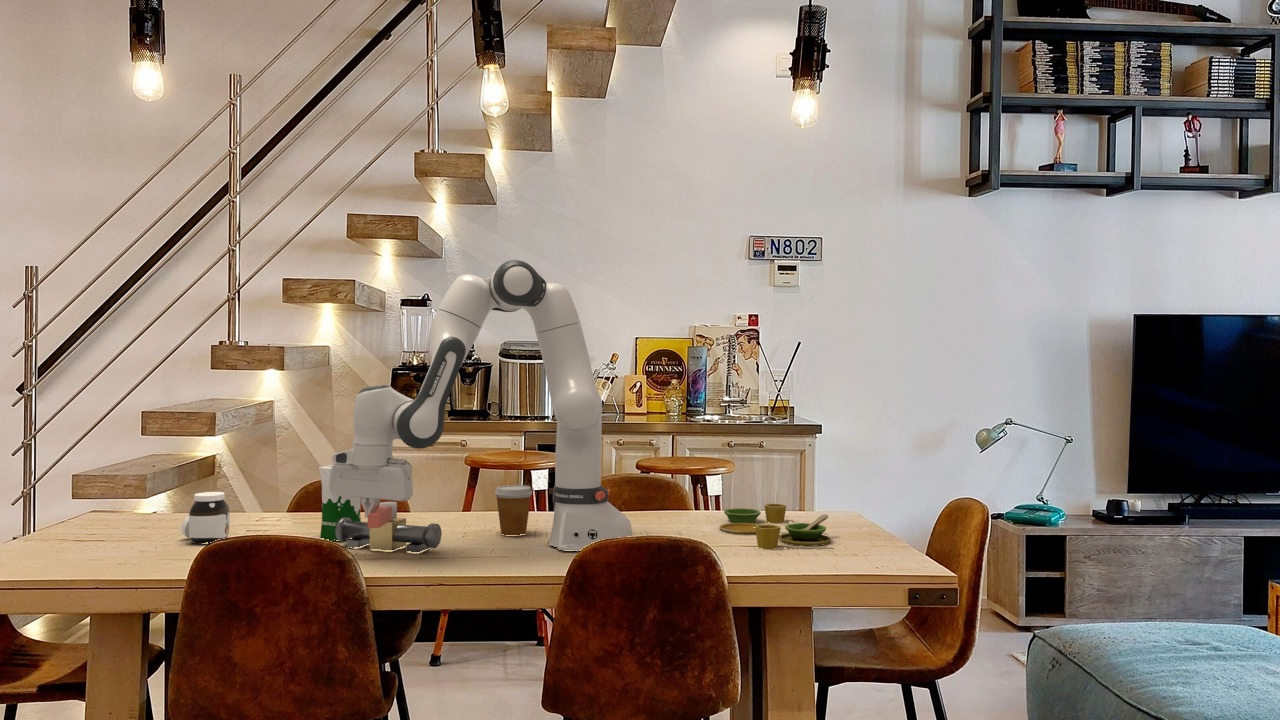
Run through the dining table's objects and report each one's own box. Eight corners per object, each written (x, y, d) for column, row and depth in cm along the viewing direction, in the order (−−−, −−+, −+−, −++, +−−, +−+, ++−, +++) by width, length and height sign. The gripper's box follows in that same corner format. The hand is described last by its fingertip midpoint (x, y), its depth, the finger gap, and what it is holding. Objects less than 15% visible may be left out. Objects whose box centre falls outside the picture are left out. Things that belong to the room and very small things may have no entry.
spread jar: (216, 545, 228) (216, 497, 228) (168, 545, 228) (168, 496, 228) (237, 535, 240) (237, 489, 240) (192, 535, 240) (192, 489, 240)
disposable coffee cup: (535, 531, 247) (535, 485, 247) (527, 538, 238) (528, 490, 238) (499, 530, 248) (499, 484, 248) (490, 537, 239) (490, 489, 239)
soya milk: (367, 537, 239) (367, 457, 239) (340, 543, 231) (340, 461, 231) (341, 533, 243) (341, 455, 243) (313, 540, 235) (313, 458, 235)
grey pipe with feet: (441, 550, 224) (442, 520, 223) (428, 555, 218) (428, 525, 218) (349, 543, 231) (349, 514, 231) (334, 548, 226) (334, 518, 226)
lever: (381, 516, 227) (381, 501, 226) (398, 516, 227) (398, 501, 226) (364, 528, 212) (364, 512, 212) (382, 528, 212) (382, 512, 212)
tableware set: (837, 554, 225) (837, 527, 225) (719, 551, 227) (719, 524, 227) (819, 522, 266) (819, 499, 266) (718, 520, 268) (719, 497, 268)
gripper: (419, 458, 216) (417, 519, 216) (343, 452, 223) (341, 511, 223) (404, 461, 210) (401, 523, 211) (326, 454, 217) (323, 515, 217)
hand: (369, 517), depth 217 cm, fingers closed, pressing on lever
